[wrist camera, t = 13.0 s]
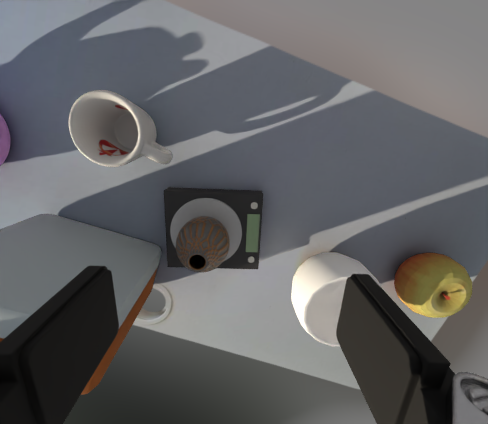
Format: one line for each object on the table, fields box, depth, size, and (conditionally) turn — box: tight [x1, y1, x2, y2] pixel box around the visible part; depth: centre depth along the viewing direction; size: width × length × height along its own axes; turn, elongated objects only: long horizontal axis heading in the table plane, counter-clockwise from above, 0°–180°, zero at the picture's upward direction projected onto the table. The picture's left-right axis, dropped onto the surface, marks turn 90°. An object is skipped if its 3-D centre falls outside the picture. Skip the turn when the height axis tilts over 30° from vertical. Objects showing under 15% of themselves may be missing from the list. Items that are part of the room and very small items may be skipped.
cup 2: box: [291, 252, 381, 346], centre depth 37 cm, size 12×12×10 cm
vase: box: [176, 216, 230, 272], centre depth 31 cm, size 7×7×9 cm
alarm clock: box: [0, 214, 161, 394], centre depth 29 cm, size 18×9×21 cm, turn 71°
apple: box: [394, 253, 472, 317], centre depth 38 cm, size 10×10×8 cm
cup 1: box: [69, 90, 173, 167], centre depth 30 cm, size 11×8×8 cm
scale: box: [164, 187, 263, 269], centre depth 37 cm, size 12×14×3 cm
